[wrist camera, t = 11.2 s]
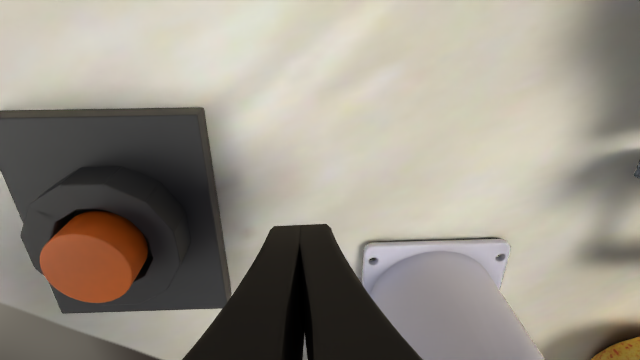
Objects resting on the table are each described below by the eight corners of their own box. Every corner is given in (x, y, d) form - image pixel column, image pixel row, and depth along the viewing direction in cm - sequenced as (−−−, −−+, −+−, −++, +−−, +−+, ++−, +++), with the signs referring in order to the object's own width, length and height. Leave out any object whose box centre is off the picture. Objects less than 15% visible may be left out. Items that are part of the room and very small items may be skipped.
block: (231, 293, 22) (221, 335, 19) (73, 298, 21) (40, 341, 19) (204, 106, 17) (185, 128, 14) (-2, 110, 16) (-62, 132, 14)
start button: (155, 274, 18) (141, 302, 16) (78, 277, 17) (55, 304, 16) (138, 209, 16) (120, 232, 14) (53, 211, 16) (25, 235, 14)
